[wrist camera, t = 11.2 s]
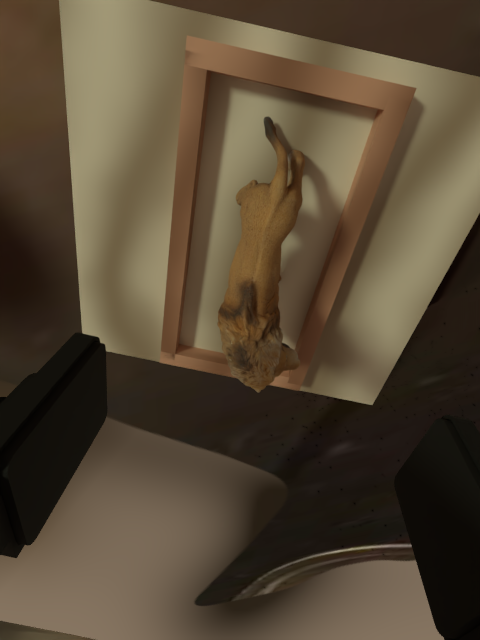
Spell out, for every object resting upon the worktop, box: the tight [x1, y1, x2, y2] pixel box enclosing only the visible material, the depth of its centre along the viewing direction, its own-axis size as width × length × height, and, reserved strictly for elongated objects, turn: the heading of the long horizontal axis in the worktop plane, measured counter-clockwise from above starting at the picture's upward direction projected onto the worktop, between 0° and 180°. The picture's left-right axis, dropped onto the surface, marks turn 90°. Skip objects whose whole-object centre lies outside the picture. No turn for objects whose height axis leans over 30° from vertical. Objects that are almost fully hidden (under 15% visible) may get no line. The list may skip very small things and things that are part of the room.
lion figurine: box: [217, 116, 305, 392], centre depth 17 cm, size 12×4×7 cm, turn 1°
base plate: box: [59, 0, 480, 405], centre depth 20 cm, size 22×20×3 cm
